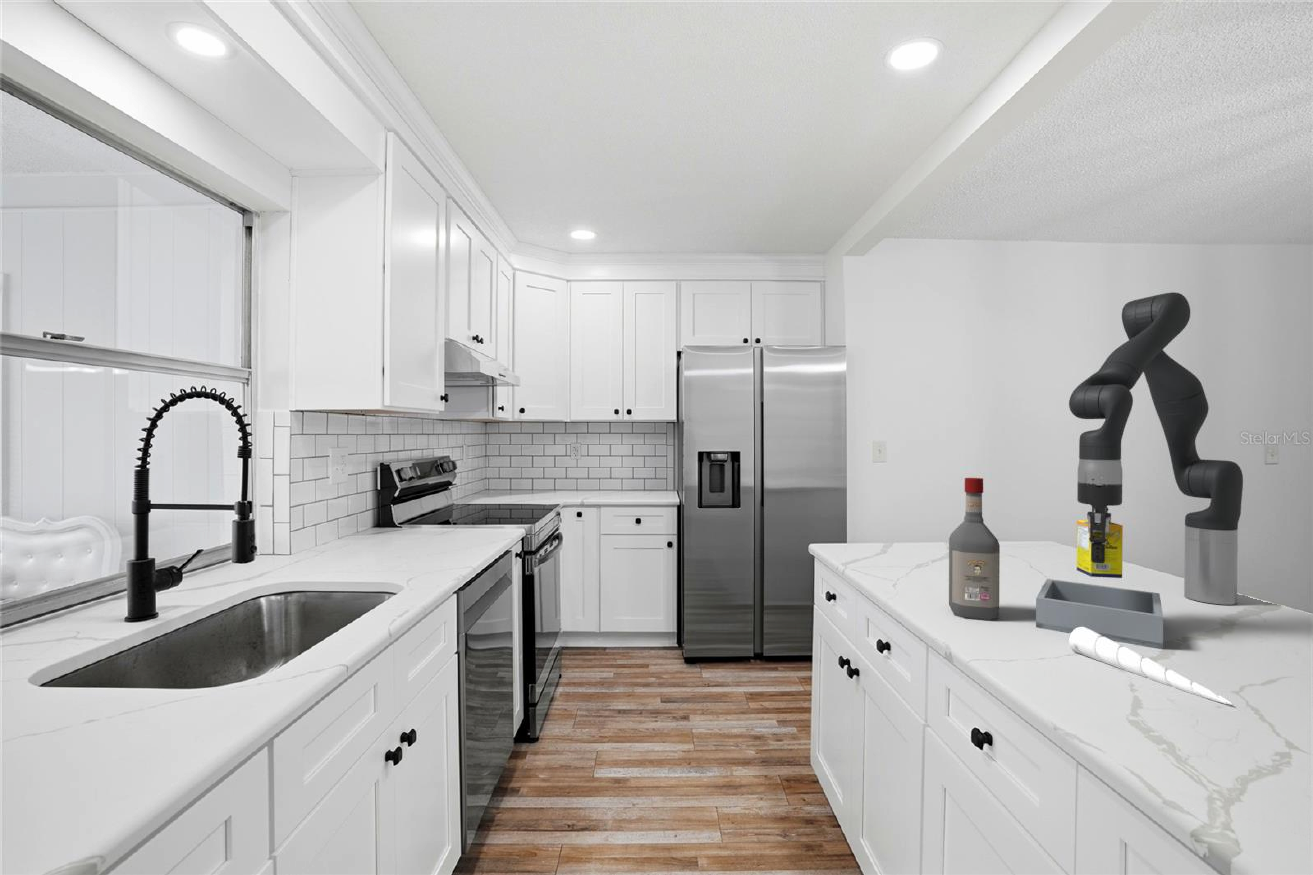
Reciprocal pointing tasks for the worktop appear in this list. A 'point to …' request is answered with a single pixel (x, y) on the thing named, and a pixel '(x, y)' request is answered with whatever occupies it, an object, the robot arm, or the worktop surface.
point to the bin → (1101, 611)
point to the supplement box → (1112, 552)
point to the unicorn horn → (1133, 662)
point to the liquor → (974, 561)
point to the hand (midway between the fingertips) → (1098, 559)
